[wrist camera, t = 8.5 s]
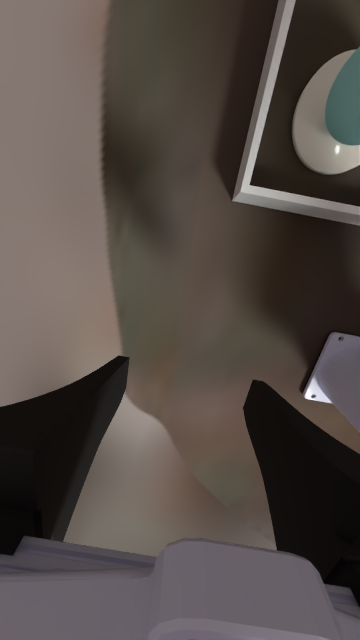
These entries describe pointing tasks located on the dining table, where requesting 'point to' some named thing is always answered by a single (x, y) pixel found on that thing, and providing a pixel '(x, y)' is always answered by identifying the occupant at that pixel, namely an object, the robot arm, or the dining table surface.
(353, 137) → the ball
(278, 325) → the dining table surface
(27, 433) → the robot arm
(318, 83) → the saucer
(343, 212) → the white square frame
